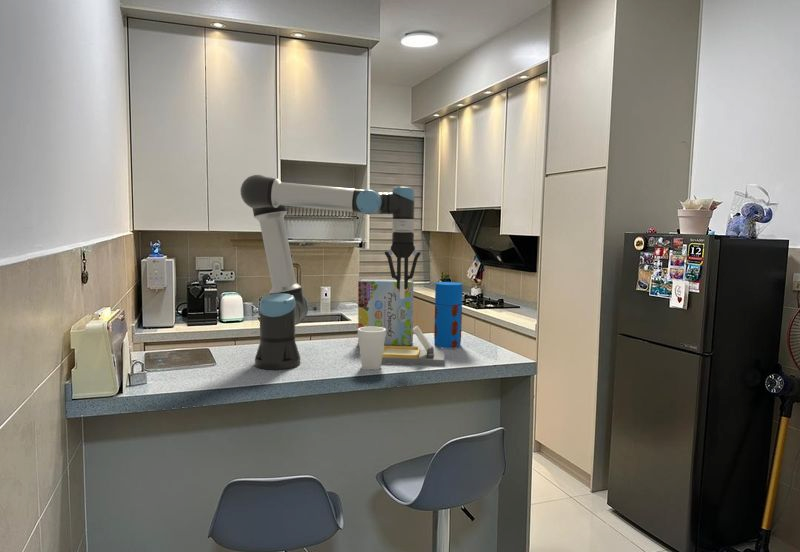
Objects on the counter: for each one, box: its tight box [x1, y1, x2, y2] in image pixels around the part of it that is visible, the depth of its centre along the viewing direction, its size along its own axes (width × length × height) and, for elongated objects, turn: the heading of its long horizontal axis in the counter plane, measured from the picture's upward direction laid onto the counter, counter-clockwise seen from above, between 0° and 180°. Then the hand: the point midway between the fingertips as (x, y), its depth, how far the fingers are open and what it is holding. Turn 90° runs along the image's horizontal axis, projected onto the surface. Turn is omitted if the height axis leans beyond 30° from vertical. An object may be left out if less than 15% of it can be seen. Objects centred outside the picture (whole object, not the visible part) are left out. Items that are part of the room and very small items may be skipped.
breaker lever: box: [413, 325, 435, 354], centre depth 192 cm, size 2×5×11 cm
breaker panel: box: [381, 345, 445, 367], centre depth 193 cm, size 26×14×3 cm, turn 86°
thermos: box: [433, 281, 464, 349], centre depth 216 cm, size 11×11×25 cm
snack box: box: [357, 279, 414, 346], centre depth 218 cm, size 22×9×26 cm, turn 82°
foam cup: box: [357, 327, 386, 370], centre depth 181 cm, size 10×9×13 cm
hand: (402, 298), depth 191 cm, fingers closed
